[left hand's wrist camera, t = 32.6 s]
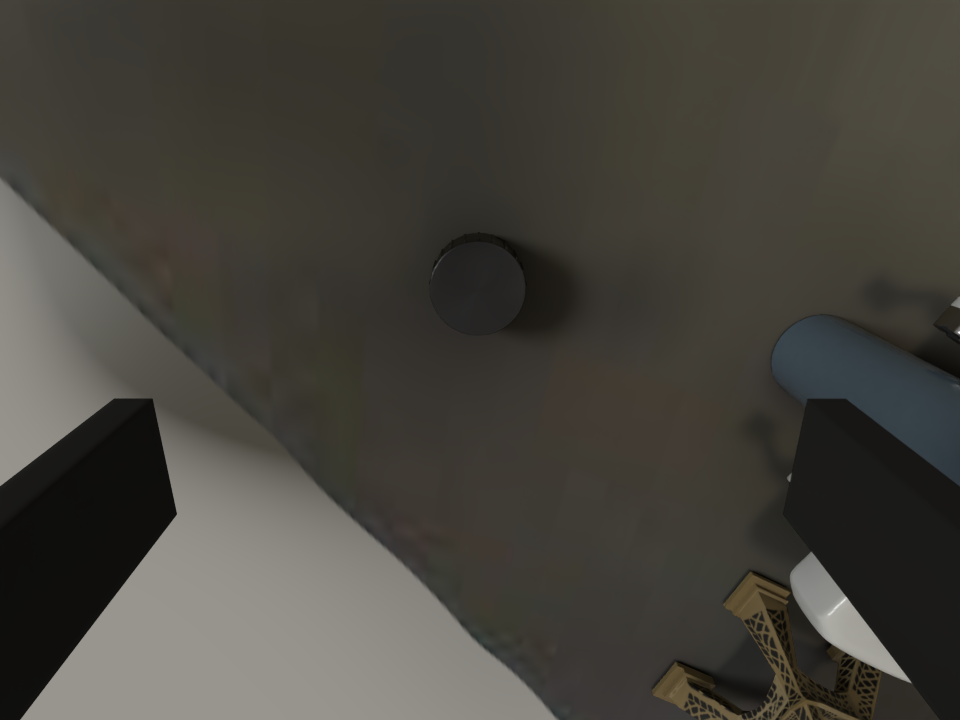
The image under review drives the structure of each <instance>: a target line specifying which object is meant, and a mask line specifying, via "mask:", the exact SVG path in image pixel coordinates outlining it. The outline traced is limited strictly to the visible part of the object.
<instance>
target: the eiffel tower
mask: <svg viewBox="0 0 960 720" xmlns="http://www.w3.org/2000/svg"><path fill="white" fill-rule="evenodd" d="M790 593H791V592H790V591H789V589H788V588H785V587H783V586H781V585H779V584H777V583H775V582H773V581H771V580H768V579H766V578H764V577H762V576H760V575H758V574H756V573H754V572H751V571H750V573H749V574H748V575H747V576H746V577H745V579H744V580H743V581H742V582H741V583H740V585H739V586H738V587H737V588H736V590H735V591H734V592H733V593H732V594H731V596H730V597H729V598H728V599H727V600H726V602H725V603H724V606H725V608H726V609H728V610H731V611H732V613H733V615H735V616H737V617H739V618H741V619H742V621H743V622H744V624H745V625H746V627H747V628H748V630H749V632H750V633H751V635H752V636H753V638H754V640H755V641H756V643H757V644H758V646H759V648H760V649H761V651H762V652H763V654H764V656H765V657H766V659H767V660H768V662H769V663H770V665H771V667H772V668H773V670H774V671H775V673H776V674H775V678H774V681H773V684H772V686H771V688H770V690H769V692H768V694H767V697H766V699H765V701H764V702H763V704H762V705H761V706H760V707H758V708H757V709H755V710H752V711H743V710H741V709H740V708H738V707H737V706H735V705H734V704H732V703H731V702H729V701H728V700H726V699H725V698H723V697H722V696H720V695H719V694H717V693H716V692H714V691H713V690H712V689H713V688H714V687H715V683H714V681H713V679H712V677H710V676H708V675H706V674H703V673H701V672H699V671H696V670H694V669H692V668H689V667H687V666H685V665H683V664H680V663H678V662H675V663H674V665H673V666H672V667H671V668H670V669H669V671H668V672H667V673H666V674H665V676H664V677H663V678H662V679H661V680H660V682H659V683H658V684H657V685H656V686H655V688H654V689H653V690H652V693H653V695H654V696H656V697H659V698H661V699H663V700H666V701H668V702H671V703H673V704H675V705H677V706H678V707H679V708H681V709H682V710H684V711H686V712H687V713H689V714H690V715H692V716H693V717H695V718H696V719H698V720H872V719H873V714H874V709H875V705H876V700H877V695H878V690H879V684H880V679H881V673H882V671H881V670H879V669H877V668H874V667H872V666H870V665H868V664H866V663H864V662H862V661H860V660H858V659H856V658H855V657H853V656H851V655H849V654H847V653H845V652H844V651H842V650H840V649H839V648H837V647H836V646H834V645H831V647H830V648H829V649H828V650H827V651H826V652H827V653H828V655H829V656H830V658H831V659H832V660H834V661H836V662H838V663H839V666H838V672H837V678H836V684H835V691H834V692H832V691H830V690H828V689H826V688H824V687H822V686H821V685H819V684H818V683H816V682H815V681H813V680H812V679H811V678H809V677H808V676H806V675H805V674H804V673H803V672H802V671H800V670H799V669H798V667H797V661H796V655H795V649H794V644H793V638H792V632H791V626H790V621H789V615H788V609H787V607H786V606H785V605H786V604H787V603H788V600H787V598H786V597H787V596H788V595H789V594H790Z"/></svg>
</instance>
